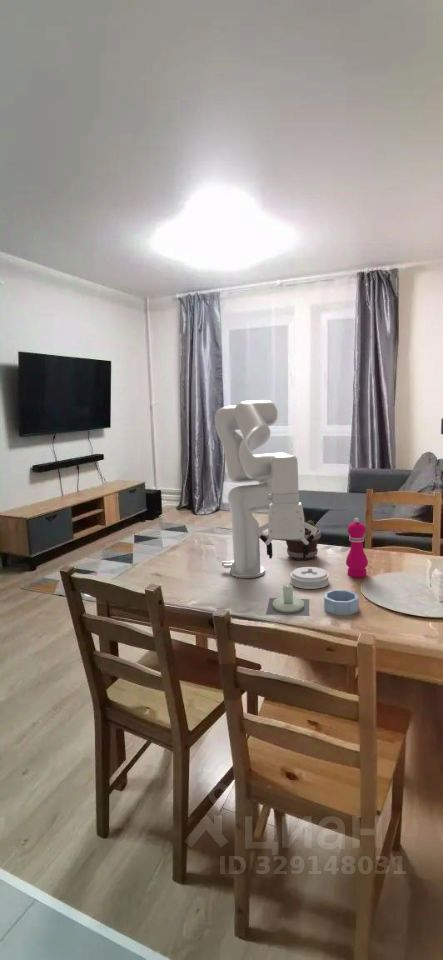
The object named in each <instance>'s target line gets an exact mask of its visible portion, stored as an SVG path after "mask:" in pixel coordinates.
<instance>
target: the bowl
mask: <svg viewBox="0 0 443 960" xmlns="http://www.w3.org/2000/svg"><path fill="white" fill-rule="evenodd" d="M359 602H360V601H359V595H358V593H356V592H353V591H351V590H349V589H331V590H329V591H326V592H324V593H323V604H324V605H323V607H324V609H323V610H324V611H326V612H328V613H330V614H333V615H339V616H351V615H352V614H353V615H354V614H355V613H358V612H359V611H360V610H359V609H360V608H359V607H360V606H359Z"/></svg>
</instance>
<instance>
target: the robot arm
mask: <svg viewBox="0 0 443 960" xmlns="http://www.w3.org/2000/svg"><path fill="white" fill-rule="evenodd" d="M277 409H278V408H277V407H276V404H275V403H274V402H273V401H272V400H267V399H266V400H265V399H262V400H261V399H259V400H244V401H240V402H239V403H237V404H236V405H228V406H222V407H221V408H219V409H217V411H216V412H215V415H214V424H215V426H214V427H215V429H216V433H217V436H218V438H219V440H220V442H221V445H222V447H223V452H224V457H225V463H226V470H227V473H228V478H229V480H230V481H231V482H233V483H238V484H241V483H252V482H257V484H245V485H239V486H238V485H237V486H235V487H233V488H231V489H230V490H229V492H228V495H227V500H228V505H229V511H230V517H231V527H232V528H231V529H232V551H233V554H232V555H233V559H232V560H230V561H228V560H223V561H221V565H222V566H221V567H223V568H224V569H229V574H230V573H231V574H232V575H233V577H234V576H236V577H235V578H237V577H239V578H238V579H254V578H258V577H262V576H264V574H265V573H266V569H265V567H264V566H262V565H261V545H260V542H261V541H262V542H264V544H265V546H266V555H267V556H268V558H269V559H270V560H271V559H272V558H273V555H274V554H273V543H272V541H273V540H286V539H301V540H302V541H303V558H304V559H306V555H308V544H309V543H310V542H311V541H312V540H313V539H314V537H315V535H316V533H317V528H316V527H314V526H312V525H310V524H308V523H305V522H306V521H305V519H304V518H305V517H304V516H305V513H304V509H303V508H304V507H303V505H302V502H300V495H299V465H298V464H299V463H298V458H297V456H295V454H294V455H293V454H288V453H286V452H274V453H273V452H269V453H267V452H266V453H257V454H254V453H252V451H254V450H257V449H258V448H259V447H262V446H264V445H265V444H266V443H267V442H268V441H269V440H270V437H271V429H270V427H271V426H273V425H274V424H276V422H277V420H278V410H277ZM238 430H239V431H240V433H241V435H240V433H238V432H237V431H238ZM263 511H264V512H265V511H268V512H267V513H268V517H267V518H268V519H267V523H265V524H263V525H261V526H260V525H259V522H258V520H257V519H256V518H255V517H254V516H253V514H252V513H256V512H263ZM304 521H305V522H304ZM305 528H306V529H308V530H311V531H312V532H311V534H310V535H309V536H308V537H306V536H305V535H304V534H305ZM265 530H267V531H268V537H267V536H266V535H265V534H264V531H265ZM260 540H261V541H260ZM231 574H230V575H231ZM232 575H231V576H232Z"/></svg>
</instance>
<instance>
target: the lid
mask: <svg viewBox="0 0 443 960" xmlns="http://www.w3.org/2000/svg"><path fill="white" fill-rule="evenodd" d="M289 576H290V578H291V579H290V581H289V582H290V585H292V586H293V587H296V588H300V589H305V590H307V589H308V590H316V589H321V588H324V587H327V586H328V585H329V584H330V581H329V577H330V574H329V572H327V570H325V569H324V568H321V567H316V566H302V567H298V568H295V569H294V570H292V571H290V573H289Z"/></svg>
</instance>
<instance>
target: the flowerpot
mask: <svg viewBox="0 0 443 960" xmlns="http://www.w3.org/2000/svg"><path fill="white" fill-rule="evenodd" d="M304 522H305V523H308V524H310V525H312V526H314V527H316V528H317V533H316V535H315V537H314V539H313V540H312V541H311V542H310V543H309V544H308V555H306V559H304V558H303V541H302V540H301V539H285V543H286V545H287V548H286V553H287V555H288V556H289V558H290V559H292V560H296V561H310V560H313V559H315V558H316V556H317V554H318V551H319V550H318V548H317V547H318V543H319V539H320V538H321V537H322V531H321V530H320V529H319V527H318V526H317V525H316V523H315V524H314V522H315V521H314V520H313V521H312V520H311V519H308V521H307V520H306V516H305V515H304ZM311 532H312V531H311V530H308V529H306V528H305V534H304V535H305V536H306V537H308V536H309V535H310V534H311Z"/></svg>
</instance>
